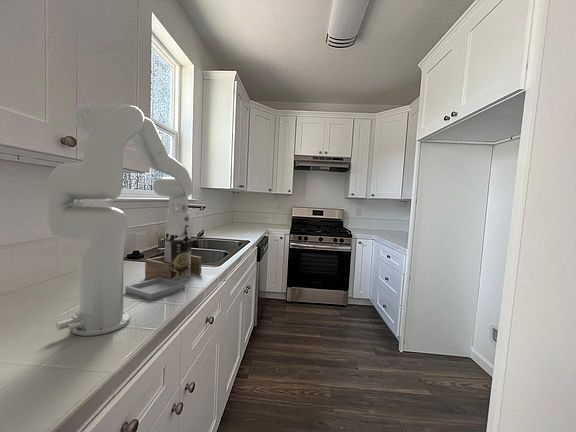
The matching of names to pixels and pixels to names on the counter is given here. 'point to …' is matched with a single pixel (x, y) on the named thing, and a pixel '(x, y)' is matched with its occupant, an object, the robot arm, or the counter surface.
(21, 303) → the counter surface
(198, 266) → the brown open box
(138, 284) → the tray
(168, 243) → the coffee box
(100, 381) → the counter surface
